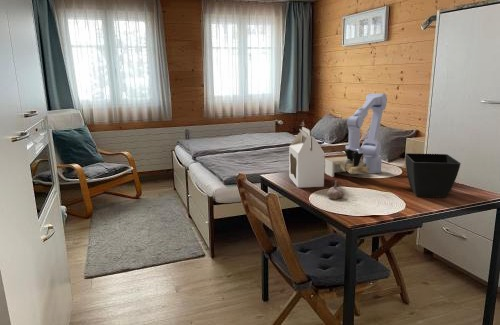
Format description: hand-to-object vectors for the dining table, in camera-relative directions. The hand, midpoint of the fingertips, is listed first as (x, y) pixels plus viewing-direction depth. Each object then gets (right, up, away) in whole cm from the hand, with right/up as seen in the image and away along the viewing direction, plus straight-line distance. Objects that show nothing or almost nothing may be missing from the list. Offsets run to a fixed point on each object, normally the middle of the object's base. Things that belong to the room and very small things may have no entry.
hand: (353, 164), depth 201 cm
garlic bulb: (-16, -15, -30) cm, 38 cm away
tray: (0, -3, -2) cm, 4 cm away
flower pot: (+27, -13, -27) cm, 41 cm away
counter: (-2, -5, +12) cm, 13 cm away
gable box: (-26, -9, -2) cm, 27 cm away
